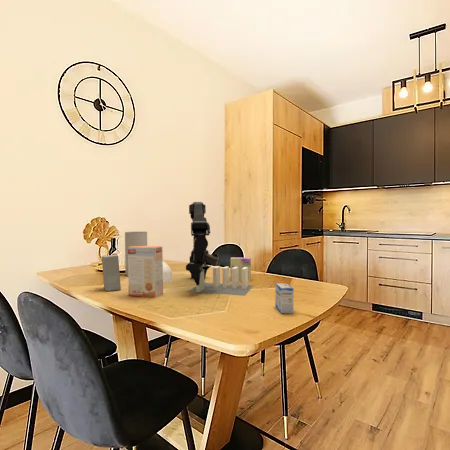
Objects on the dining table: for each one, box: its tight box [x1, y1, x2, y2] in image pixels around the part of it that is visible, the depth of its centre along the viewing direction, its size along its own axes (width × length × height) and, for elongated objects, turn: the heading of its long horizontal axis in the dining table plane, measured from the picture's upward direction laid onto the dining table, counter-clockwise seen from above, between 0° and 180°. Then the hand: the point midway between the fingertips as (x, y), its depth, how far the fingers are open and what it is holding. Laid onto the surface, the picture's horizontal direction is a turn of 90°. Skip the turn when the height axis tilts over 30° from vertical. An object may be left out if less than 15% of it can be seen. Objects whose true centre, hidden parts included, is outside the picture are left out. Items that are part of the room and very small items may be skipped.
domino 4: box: [231, 267, 240, 289], centre depth 141 cm, size 2×6×9 cm, turn 164°
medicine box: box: [274, 282, 295, 314], centre depth 106 cm, size 8×4×9 cm, turn 5°
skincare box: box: [101, 254, 122, 292], centre depth 141 cm, size 8×7×16 cm
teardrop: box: [163, 260, 173, 284], centre depth 159 cm, size 11×11×12 cm
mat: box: [186, 282, 254, 296], centre depth 138 cm, size 26×20×1 cm
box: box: [229, 257, 252, 282], centre depth 158 cm, size 10×6×12 cm, turn 84°
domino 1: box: [195, 269, 205, 292], centre depth 135 cm, size 2×6×9 cm, turn 165°
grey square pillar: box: [124, 231, 148, 277], centre depth 178 cm, size 12×12×25 cm
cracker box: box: [127, 245, 164, 299], centre depth 128 cm, size 14×6×21 cm, turn 65°
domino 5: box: [241, 267, 249, 289], centre depth 139 cm, size 2×6×9 cm, turn 164°
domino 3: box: [221, 265, 230, 288], centre depth 142 cm, size 2×6×9 cm, turn 164°
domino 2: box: [212, 265, 221, 288], centre depth 143 cm, size 2×6×9 cm, turn 164°
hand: (200, 283), depth 135 cm, fingers open, 6 cm apart
